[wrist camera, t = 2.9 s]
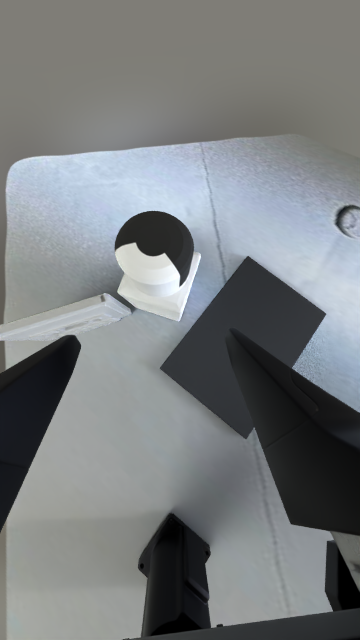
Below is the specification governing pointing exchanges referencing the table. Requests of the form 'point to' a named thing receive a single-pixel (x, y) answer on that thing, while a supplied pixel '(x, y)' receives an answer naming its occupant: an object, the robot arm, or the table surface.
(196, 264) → the medicine bottle
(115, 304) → the cassette
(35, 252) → the table surface
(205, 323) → the desk mat
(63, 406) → the table surface
